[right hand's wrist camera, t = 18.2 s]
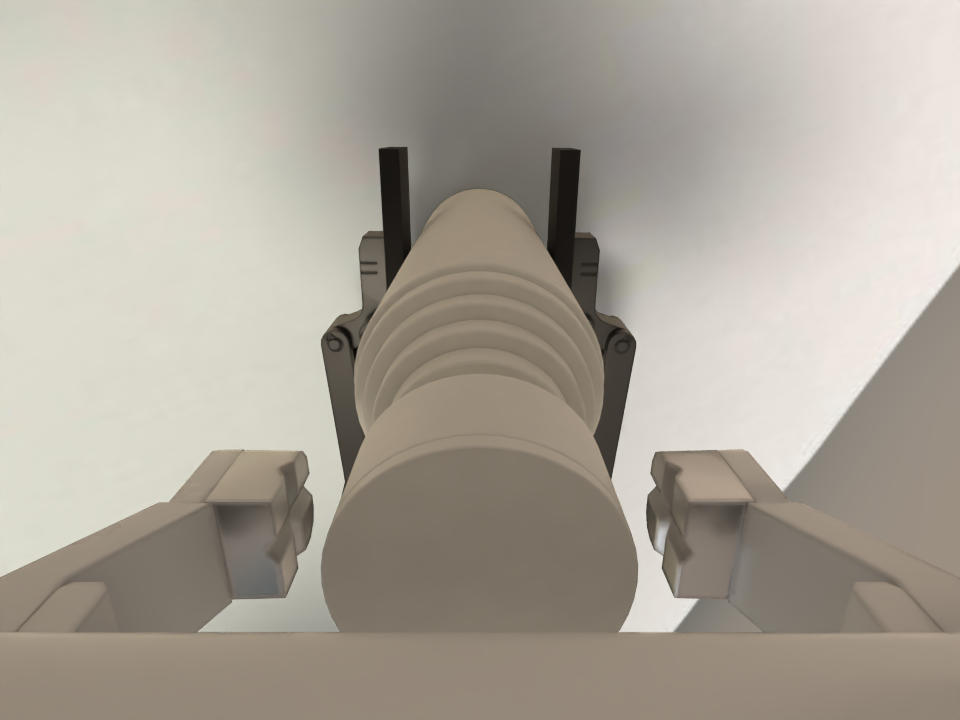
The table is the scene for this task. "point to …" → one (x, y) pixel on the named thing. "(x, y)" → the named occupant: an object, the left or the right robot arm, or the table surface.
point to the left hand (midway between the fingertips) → (479, 149)
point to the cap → (479, 518)
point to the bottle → (479, 313)
